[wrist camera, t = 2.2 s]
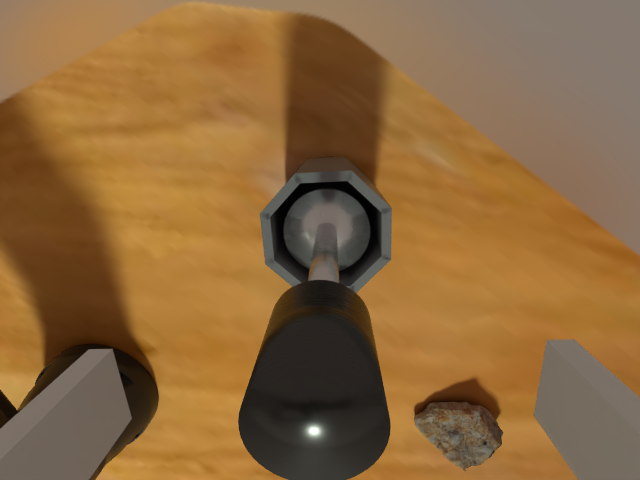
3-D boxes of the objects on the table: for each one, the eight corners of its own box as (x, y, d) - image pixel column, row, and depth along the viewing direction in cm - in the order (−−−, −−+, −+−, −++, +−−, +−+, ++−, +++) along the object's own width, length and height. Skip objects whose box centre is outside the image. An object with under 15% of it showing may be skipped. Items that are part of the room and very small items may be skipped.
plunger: (288, 270, 28) (210, 516, 10) (281, 189, 26) (168, 321, 8) (369, 267, 28) (435, 516, 10) (368, 185, 26) (449, 313, 8)
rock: (504, 411, 46) (453, 386, 43) (524, 460, 41) (468, 435, 38) (454, 435, 51) (404, 414, 47) (467, 481, 46) (412, 461, 43)
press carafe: (291, 257, 40) (271, 318, 27) (282, 159, 37) (255, 175, 24) (372, 255, 40) (390, 315, 27) (371, 154, 36) (391, 168, 23)
